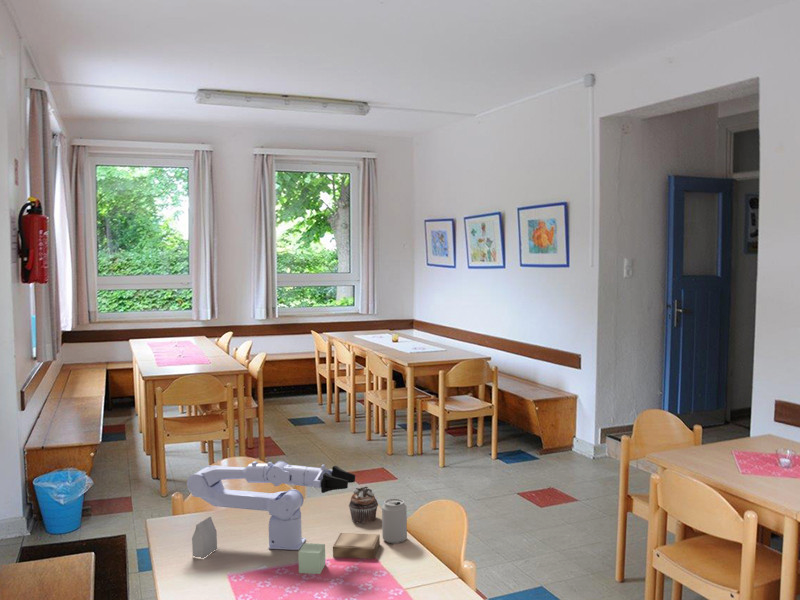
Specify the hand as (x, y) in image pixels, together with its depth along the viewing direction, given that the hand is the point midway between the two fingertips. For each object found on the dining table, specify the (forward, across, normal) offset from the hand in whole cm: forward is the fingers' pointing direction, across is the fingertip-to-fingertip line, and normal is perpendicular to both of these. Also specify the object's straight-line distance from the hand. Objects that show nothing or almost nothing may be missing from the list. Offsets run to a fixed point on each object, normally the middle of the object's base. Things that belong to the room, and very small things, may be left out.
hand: (351, 481), depth 207 cm
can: (+12, +11, +19) cm, 25 cm away
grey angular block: (-41, -9, +24) cm, 48 cm away
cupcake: (-2, +26, +19) cm, 32 cm away
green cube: (-6, -12, +22) cm, 26 cm away
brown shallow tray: (+2, +1, +20) cm, 21 cm away
